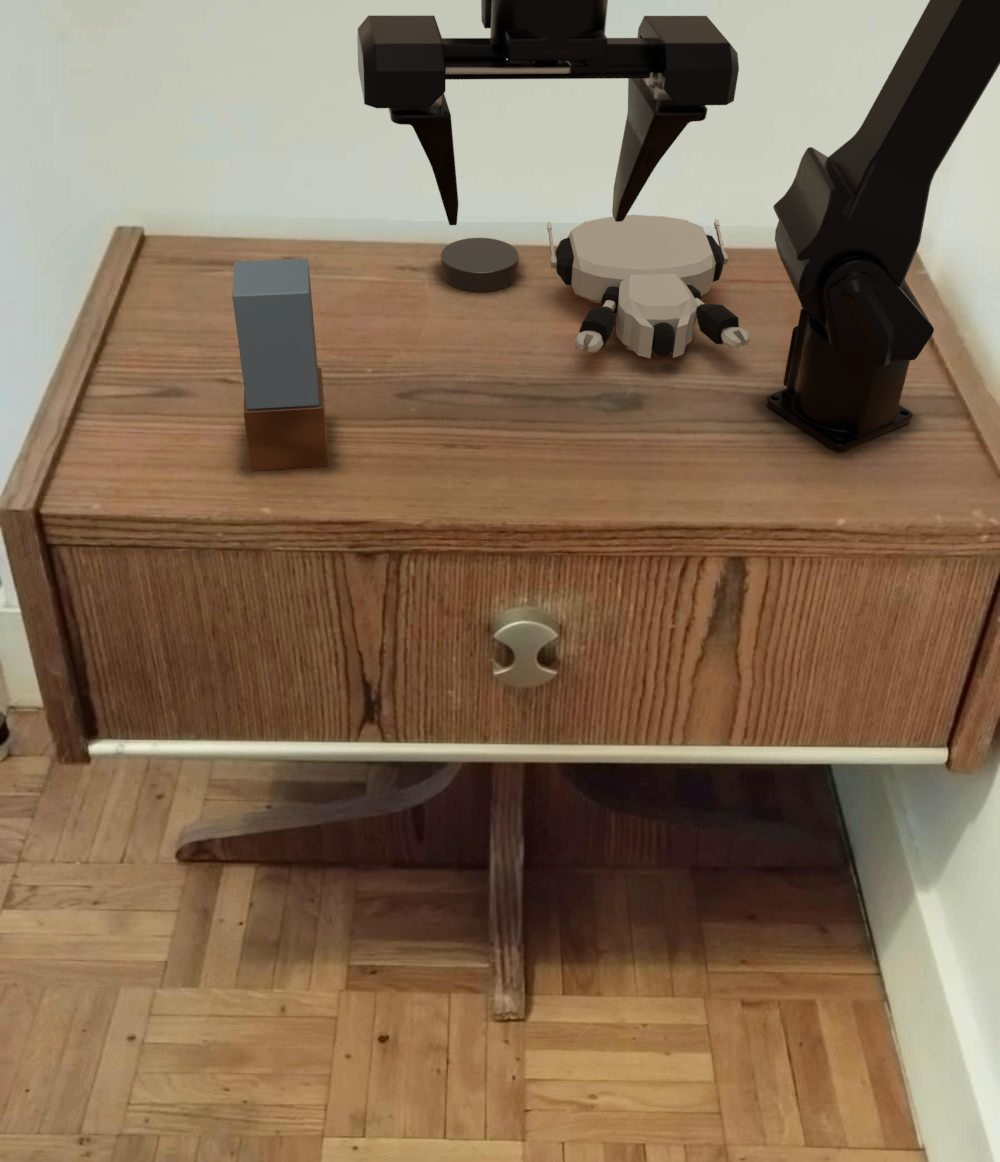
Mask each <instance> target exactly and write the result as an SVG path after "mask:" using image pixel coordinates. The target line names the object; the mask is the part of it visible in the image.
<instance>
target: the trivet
mask: <svg viewBox="0 0 1000 1162" xmlns="http://www.w3.org/2000/svg"><path fill="white" fill-rule="evenodd" d="M519 265H520V254H519V251H518V249H517V248H516V247H514V246H513V245H511V244H510V243H508V242H506V241H503V240H500V239H496V238H488V237H469V238H461V239H459V240H456V241H452V242H451V243H449V244H447V245H445V247H444V248H442V250H441V253H440V274H441V275H440V276H441V278H442V280H443V281H444V282H445V283H446V284H448V285H449V286H451V287H453V288H455V289H459V290H463V291H467V292H476V293H478V292H481V293H482V292H492V291H493V292H494V291H498V290H502V289H505V288H507V287H509V286H511V285H512V284H514V283H515V282H516V281H517V279H518V278H519V270H520V269H519V268H520V266H519Z"/></svg>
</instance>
